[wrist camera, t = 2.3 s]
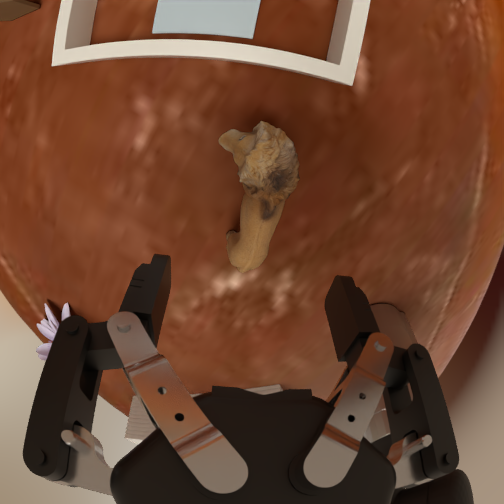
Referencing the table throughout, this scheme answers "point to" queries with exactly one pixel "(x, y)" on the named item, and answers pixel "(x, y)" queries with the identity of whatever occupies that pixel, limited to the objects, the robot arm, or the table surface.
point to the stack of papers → (143, 427)
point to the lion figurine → (260, 189)
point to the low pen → (213, 23)
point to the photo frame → (15, 9)
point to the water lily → (50, 329)
